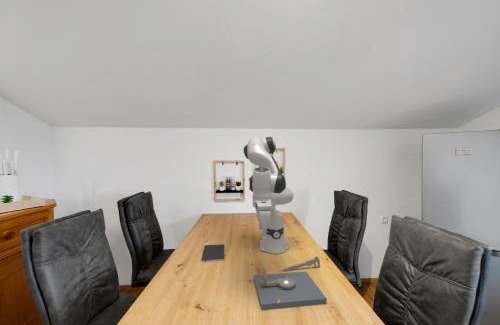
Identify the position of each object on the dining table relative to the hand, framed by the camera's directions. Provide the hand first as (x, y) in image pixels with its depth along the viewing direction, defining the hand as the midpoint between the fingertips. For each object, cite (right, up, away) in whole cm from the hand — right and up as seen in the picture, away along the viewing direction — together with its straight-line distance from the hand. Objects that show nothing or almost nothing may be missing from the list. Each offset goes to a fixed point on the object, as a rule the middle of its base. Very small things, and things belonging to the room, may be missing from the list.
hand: (262, 232), depth 102 cm
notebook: (-28, -24, +32) cm, 48 cm away
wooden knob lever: (+6, -21, -6) cm, 23 cm away
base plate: (+10, -23, -7) cm, 26 cm away
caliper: (+21, -23, +12) cm, 33 cm away
